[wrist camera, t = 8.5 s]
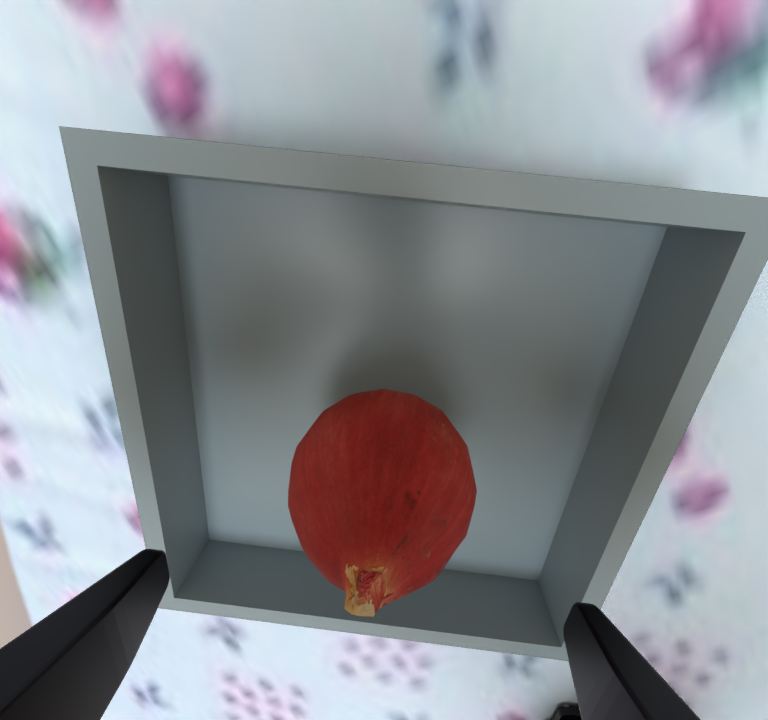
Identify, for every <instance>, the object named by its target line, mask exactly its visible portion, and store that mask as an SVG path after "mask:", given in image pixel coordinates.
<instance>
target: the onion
mask: <svg viewBox="0 0 768 720" xmlns="http://www.w3.org/2000/svg"><path fill="white" fill-rule="evenodd" d="M476 493H477V489H476V483H475V478H474V473H473V469H472V464H471V460H470V455H469V451H468V446H467V445H466V443H465V442H464V440H463V438H462V437H461V435H460V434H459V433H458V431H457V430H456V428H455V427H454V426H453V424H452V423H451V422H450V420H449V419H448V417H447V416H446V415H445V413H444V412H443V411H442V410H440V409H439V408H437V407H435V406H433V405H432V404H430V403H428V402H426V401H425V400H423V399H421V398H419V397H418V396H416V395H413V394H409V393H404V392H399V391H394V390H389V389H379V390H373V391H366V392H359V393H355V394H352V395H348V396H347V397H345V398H343V399H342V400H340V401H339V402H337V403H335V404H334V405H332V406H330V407H329V408H327V409H325V410H324V411H323V412H322V413H321V414H320V416H319V417H318V418H317V419H316V421H315V422H314V423H313V425H312V426H311V427H310V429H309V430H308V431H307V433H306V434H305V436H304V437H303V438H302V440H301V441H300V442H299V444H298V445H297V447H296V450H295V453H294V457H293V460H292V463H291V472H290V480H289V489H288V508H289V512H290V516H291V520H292V523H293V525H294V528H295V531H296V533H297V536H298V539H299V542H300V544H301V547H302V548H303V550H304V552H305V554H306V556H307V557H308V558H309V559H310V560H311V562H312V563H313V564H314V565H315V566H316V567H317V569H318V570H319V571H320V572H321V573H322V574H323V576H324V577H325V578H326V579H327V580H328V581H329V582H330V583H332V584H333V585H335V586H336V587H338V588H340V589H341V590H343V591H344V592H345V593H346V598H345V607H344V609H345V610H346V611H348V612H349V613H351V614H352V615H357V616H371V617H374V615H375V614H376V612H377V611H378V609H379V608H381V607H383V606H385V605H387V604H388V603H389V602H391V601H396V600H398V599H400V598H402V597H404V596H406V595H408V594H410V593H412V592H414V591H416V590H418V589H420V588H422V587H424V586H426V585H428V584H429V583H431V582H432V581H433V580H435V579H436V577H437V576H438V575H439V574H440V573H441V572H442V570H443V569H444V567H445V566H446V564H447V563H448V561H449V560H450V558H451V557H452V555H453V554H454V552H455V551H456V549H457V548H458V546H459V545H460V544H461V542H462V541H463V540H464V539H465V537H466V536H467V532H468V528H469V525H470V521H471V517H472V514H473V510H474V506H475V500H476Z"/></svg>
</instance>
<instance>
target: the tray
mask: <svg viewBox="0 0 768 720" xmlns="http://www.w3.org/2000/svg"><path fill="white" fill-rule="evenodd" d="M59 128H60V133H61V138H62V143H63V148H64V153H65V158H66V163H67V167H68V172H69V177H70V182H71V187H72V192H73V197H74V201H75V206H76V211H77V216H78V221H79V226H80V231H81V235H82V240H83V245H84V250H85V255H86V260H87V265H88V270H89V274H90V279H91V284H92V289H93V294H94V299H95V304H96V308H97V313H98V318H99V323H100V328H101V333H102V338H103V342H104V347H105V352H106V357H107V362H108V367H109V372H110V377H111V381H112V386H113V391H114V396H115V401H116V406H117V411H118V415H119V420H120V425H121V430H122V435H123V440H124V445H125V449H126V454H127V459H128V464H129V469H130V474H131V479H132V484H133V488H134V493H135V498H136V503H137V508H138V513H139V518H140V522H141V527H142V532H143V537H144V542H145V547H146V549H156V550H163V551H164V552H165V553H166V557H167V562H168V568H169V573H170V580H169V584H168V587H167V589H166V591H165V593H164V596H163V598H162V600H161V602H160V604H159V606H158V608H162V609H169V610H177V611H185V612H193V613H200V614H208V615H216V616H224V617H231V618H239V619H247V620H255V621H262V622H270V623H278V624H286V625H293V626H301V627H309V628H317V629H325V630H332V631H340V632H348V633H356V634H363V635H371V636H379V637H387V638H394V639H402V640H410V641H418V642H425V643H433V644H441V645H449V646H456V647H464V648H472V649H480V650H487V651H495V652H503V653H511V654H518V655H526V656H534V657H542V658H549V659H557V660H565V661H569V659H568V655H567V650H566V646H565V641H564V636H563V627H564V623H565V621H566V619H567V617H568V614H569V612H570V610H571V607H572V605H573V604H574V603H575V602H582V603H590V604H594V605H595V606H597V607H598V608H599V609H601V607H602V605H603V603H604V600H605V598H606V596H607V594H608V592H609V590H610V588H611V586H612V584H613V582H614V580H615V577H616V575H617V573H618V571H619V569H620V567H621V565H622V563H623V561H624V559H625V557H626V554H627V552H628V550H629V548H630V546H631V544H632V542H633V540H634V538H635V536H636V534H637V531H638V529H639V527H640V525H641V523H642V521H643V519H644V517H645V515H646V513H647V511H648V508H649V506H650V504H651V502H652V500H653V498H654V496H655V494H656V492H657V490H658V488H659V485H660V483H661V481H662V479H663V477H664V475H665V473H666V471H667V469H668V467H669V465H670V462H671V460H672V458H673V456H674V454H675V452H676V450H677V448H678V446H679V444H680V442H681V439H682V437H683V435H684V433H685V431H686V429H687V427H688V425H689V423H690V421H691V419H692V416H693V414H694V412H695V410H696V408H697V406H698V404H699V402H700V400H701V398H702V396H703V393H704V391H705V389H706V387H707V385H708V383H709V381H710V379H711V377H712V375H713V373H714V370H715V368H716V366H717V364H718V362H719V360H720V358H721V356H722V354H723V352H724V350H725V347H726V345H727V343H728V341H729V339H730V337H731V335H732V333H733V331H734V329H735V327H736V324H737V322H738V320H739V318H740V316H741V314H742V312H743V310H744V308H745V306H746V304H747V301H748V299H749V297H750V295H751V293H752V291H753V289H754V287H755V285H756V283H757V281H758V278H759V276H760V274H761V272H762V270H763V268H764V266H765V264H766V262H767V260H768V198H767V197H757V196H747V195H737V194H727V193H717V192H707V191H697V190H688V189H678V188H668V187H658V186H648V185H638V184H628V183H618V182H608V181H598V180H588V179H578V178H568V177H558V176H548V175H539V174H529V173H519V172H509V171H499V170H489V169H479V168H469V167H459V166H449V165H439V164H429V163H419V162H409V161H400V160H390V159H380V158H370V157H360V156H350V155H340V154H330V153H320V152H310V151H300V150H290V149H280V148H270V147H260V146H251V145H241V144H231V143H221V142H211V141H201V140H191V139H181V138H171V137H161V136H151V135H141V134H131V133H121V132H112V131H102V130H92V129H82V128H72V127H62V126H59ZM379 389H389V390H394V391H399V392H404V393H409V394H413V395H416V396H418V397H419V398H421V399H423V400H425V401H426V402H428V403H430V404H432V405H433V406H435V407H437V408H439V409H440V410H442V411H443V412H444V413H445V415H446V416H447V417H448V419H449V420H450V422H451V423H452V424H453V426H454V427H455V428H456V430H457V431H458V433H459V434H460V435H461V437H462V438H463V440H464V442H465V443H466V445H467V446H468V451H469V455H470V460H471V464H472V469H473V473H474V478H475V483H476V489H477V493H476V500H475V506H474V510H473V514H472V517H471V521H470V525H469V528H468V532H467V536H466V537H465V539H464V540H463V541H462V542H461V544H460V545H459V546H458V548H457V549H456V551H455V552H454V554H453V555H452V557H451V558H450V560H449V561H448V563H447V564H446V566H445V567H444V569H443V570H442V572H441V573H440V574H439V575H438V576H437V577H436V579H435V580H433V581H432V582H431V583H429V584H428V585H426V586H424V587H422V588H420V589H418V590H416V591H414V592H412V593H410V594H408V595H406V596H404V597H402V598H400V599H398V600H396V601H391V602H389V603H388V604H387V605H385V606H383V607H381V608H379V609H378V611H377V612H376V614H375V615H374V617H371V616H357V615H352V614H351V613H349V612H348V611H346V610H345V609H344V607H345V598H346V593H345V592H344V591H343V590H341V589H340V588H338V587H336V586H335V585H333V584H332V583H330V582H329V581H328V580H327V579H326V578H325V577H324V576H323V574H322V573H321V572H320V571H319V570H318V569H317V567H316V566H315V565H314V564H313V563H312V562H311V560H310V559H309V558H308V557H307V556H306V554H305V552H304V550H303V548H302V547H301V544H300V542H299V539H298V536H297V533H296V531H295V528H294V525H293V523H292V520H291V516H290V512H289V508H288V489H289V480H290V472H291V463H292V460H293V457H294V453H295V450H296V447H297V445H298V444H299V442H300V441H301V440H302V438H303V437H304V436H305V434H306V433H307V431H308V430H309V429H310V427H311V426H312V425H313V423H314V422H315V421H316V419H317V418H318V417H319V416H320V414H321V413H322V412H323V411H324V410H325V409H327V408H329V407H330V406H332V405H334V404H335V403H337V402H339V401H340V400H342V399H343V398H345V397H347V396H348V395H352V394H355V393H359V392H366V391H373V390H379Z"/></svg>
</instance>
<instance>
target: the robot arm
mask: <svg viewBox="0 0 768 720" xmlns="http://www.w3.org/2000/svg"><path fill="white" fill-rule="evenodd" d="M169 580H170V573H169V568H168V562H167V557H166V553H165V552H164V551H163V550H156V549H145V550H143V551H141V552H139V553H138V554H136V555H135V556H133V557H132V558H130V559H129V560H128V561H126V562H125V563H123V564H122V565H120V566H119V567H118V568H116V569H115V570H113V571H112V572H110V573H109V574H107V575H106V576H105V577H103V578H102V579H100V580H99V581H97V582H96V583H94V584H93V585H92V586H90V587H89V588H87V589H86V590H84V591H83V592H81V593H80V594H79V595H77V596H76V597H74V598H73V599H71V600H70V601H69V602H67V603H66V604H64V605H63V606H61V607H60V608H58V609H57V610H56V611H54V612H53V613H51V614H50V615H48V616H47V617H45V618H44V619H43V620H41V621H40V622H38V623H37V624H35V625H34V626H32V627H31V628H30V629H28V630H27V631H25V632H24V633H23V634H21V635H20V636H18V637H17V638H15V639H14V640H12V641H11V642H9V643H8V644H7V645H5V646H4V647H2V648H1V649H0V720H100V719H101V717H102V716H103V714H104V712H105V710H106V709H107V707H108V705H109V703H110V702H111V700H112V698H113V696H114V695H115V693H116V691H117V689H118V688H119V686H120V684H121V682H122V680H123V679H124V677H125V675H126V673H127V671H128V670H129V668H130V666H131V664H132V662H133V660H134V658H135V656H136V653H137V651H138V649H139V647H140V645H141V643H142V641H143V638H144V636H145V634H146V632H147V630H148V628H149V626H150V623H151V621H152V619H153V617H154V615H155V613H156V611H157V608H158V606H159V604H160V602H161V600H162V598H163V596H164V593H165V591H166V589H167V587H168V584H169ZM563 636H564V641H565V646H566V650H567V655H568V659H569V664H570V669H571V673H572V678H573V682H574V687H575V691H576V696H577V700H578V705H579V708H574V707H561V708H559V709H558V711H557V713H556V715H555V717H554V719H553V720H700V718H699V717H698V716H697V715H696V714H695V713H694V712H693V711H692V710H691V709H690V707H689V706H688V705H687V704H686V703H685V702H684V701H683V700H682V699H681V698H680V697H679V695H678V694H677V693H676V692H675V691H674V690H673V689H672V688H671V687H670V686H669V685H668V683H667V682H666V681H665V680H664V679H663V678H662V677H661V676H660V675H659V674H658V672H657V671H656V670H655V669H654V668H653V667H652V666H651V665H650V664H649V663H648V662H647V660H646V659H645V658H644V657H643V656H642V655H641V654H640V653H639V652H638V651H637V649H636V648H635V647H634V646H633V645H632V644H631V643H630V642H629V641H628V640H627V639H626V637H625V636H624V635H623V634H622V633H621V632H620V631H619V630H618V629H617V628H616V626H615V625H614V624H613V623H612V622H611V621H610V620H609V619H608V618H607V617H606V616H605V614H604V613H603V612H602V611H601V610H600V609H599V608H598V607H597V606H595V605H594V604H590V603H582V602H575V603H574V604H573V605H572V607H571V610H570V612H569V614H568V617H567V619H566V621H565V623H564V627H563Z"/></svg>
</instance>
